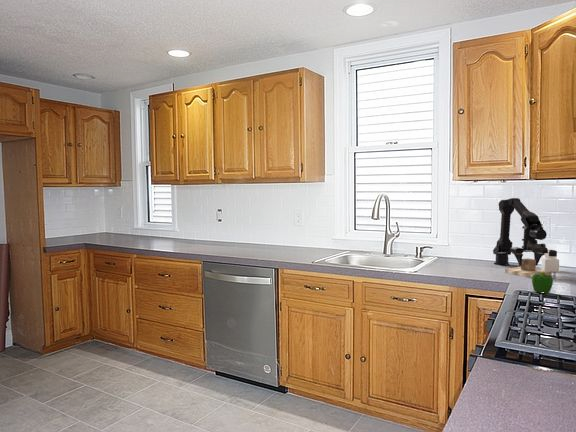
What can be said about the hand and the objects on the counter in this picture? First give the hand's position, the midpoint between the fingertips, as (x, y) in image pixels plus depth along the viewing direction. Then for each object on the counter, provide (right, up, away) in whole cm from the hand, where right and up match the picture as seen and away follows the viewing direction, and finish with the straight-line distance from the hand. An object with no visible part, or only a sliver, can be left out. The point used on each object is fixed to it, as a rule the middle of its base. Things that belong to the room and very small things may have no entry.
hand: (528, 265), depth 237 cm
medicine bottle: (+17, -4, +9) cm, 20 cm away
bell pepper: (-16, -8, -40) cm, 43 cm away
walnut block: (0, -3, 0) cm, 2 cm away
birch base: (0, -5, 0) cm, 4 cm away
